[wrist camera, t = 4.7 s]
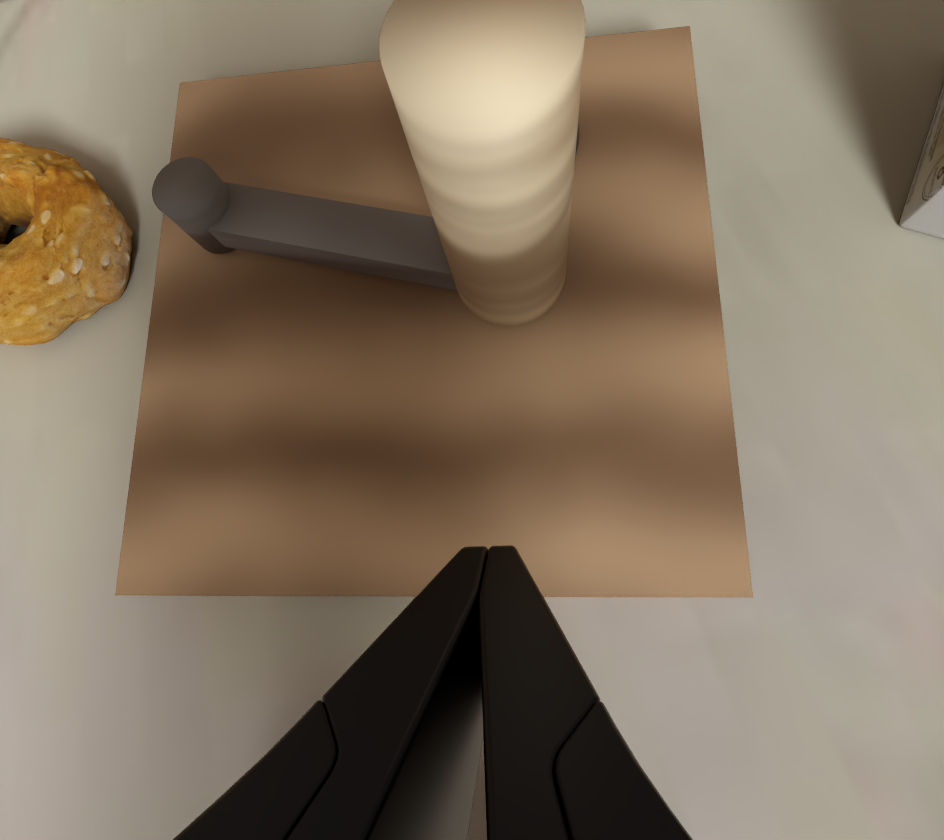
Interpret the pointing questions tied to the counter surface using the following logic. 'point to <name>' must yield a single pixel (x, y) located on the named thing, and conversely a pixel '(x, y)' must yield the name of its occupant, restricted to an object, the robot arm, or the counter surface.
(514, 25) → the folding leg
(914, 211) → the coffee box
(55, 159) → the bagel
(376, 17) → the counter surface
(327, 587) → the stool seat
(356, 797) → the robot arm
